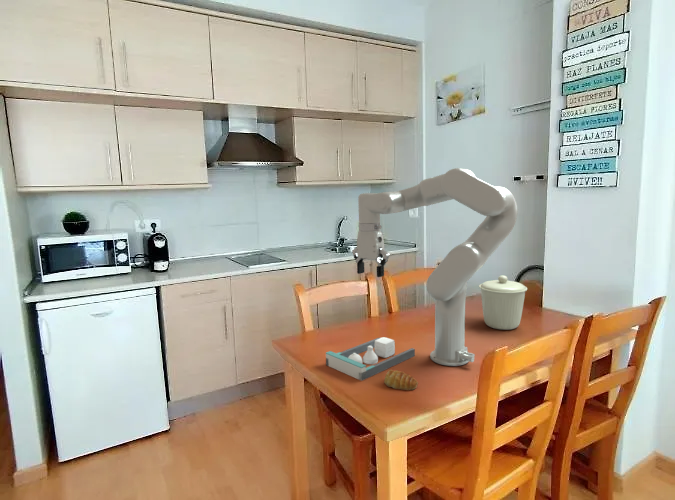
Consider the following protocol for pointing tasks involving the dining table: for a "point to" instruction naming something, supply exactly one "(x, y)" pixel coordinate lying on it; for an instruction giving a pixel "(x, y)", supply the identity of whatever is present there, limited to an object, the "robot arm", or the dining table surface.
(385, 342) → the container set
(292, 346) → the dining table surface
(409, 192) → the robot arm
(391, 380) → the pastry
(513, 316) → the canister
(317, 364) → the dining table surface
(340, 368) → the rail guide
